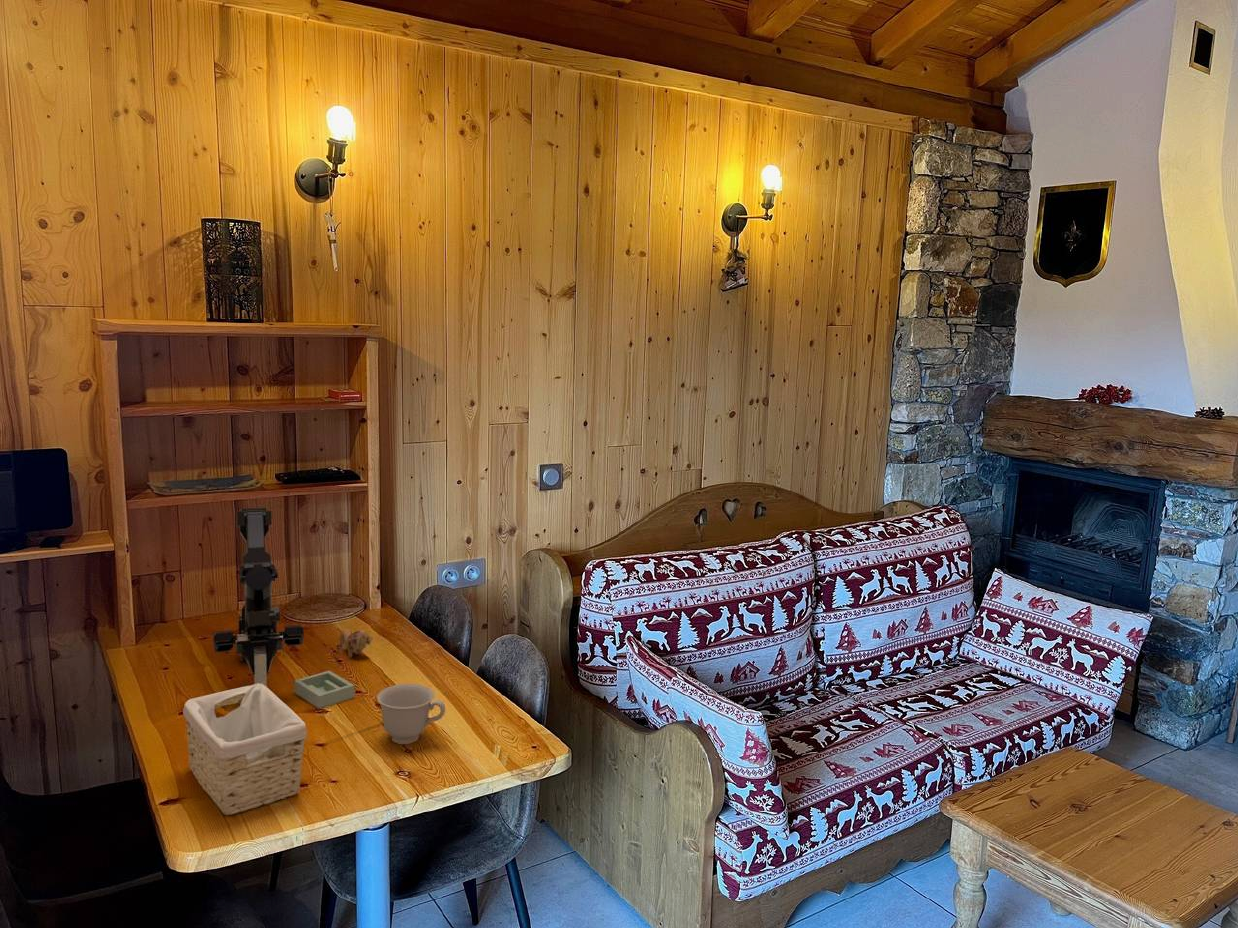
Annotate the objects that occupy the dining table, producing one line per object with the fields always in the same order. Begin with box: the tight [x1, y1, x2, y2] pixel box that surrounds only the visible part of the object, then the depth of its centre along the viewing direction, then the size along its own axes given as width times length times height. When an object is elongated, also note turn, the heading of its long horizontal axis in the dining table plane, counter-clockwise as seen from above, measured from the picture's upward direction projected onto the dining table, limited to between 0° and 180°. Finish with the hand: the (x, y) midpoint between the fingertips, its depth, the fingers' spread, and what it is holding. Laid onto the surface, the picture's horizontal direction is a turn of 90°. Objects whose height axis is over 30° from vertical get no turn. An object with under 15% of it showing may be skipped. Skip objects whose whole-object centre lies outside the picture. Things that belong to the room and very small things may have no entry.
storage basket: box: [182, 683, 307, 816], centre depth 176 cm, size 24×16×15 cm
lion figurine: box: [335, 628, 373, 658], centre depth 238 cm, size 15×5×9 cm, turn 47°
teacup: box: [376, 683, 446, 745], centre depth 196 cm, size 12×15×10 cm
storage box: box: [294, 670, 355, 710], centre depth 212 cm, size 11×9×4 cm
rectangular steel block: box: [253, 646, 268, 688], centre depth 203 cm, size 5×2×11 cm, turn 23°
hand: (260, 673), depth 201 cm, fingers closed on rectangular steel block, 2 cm apart
